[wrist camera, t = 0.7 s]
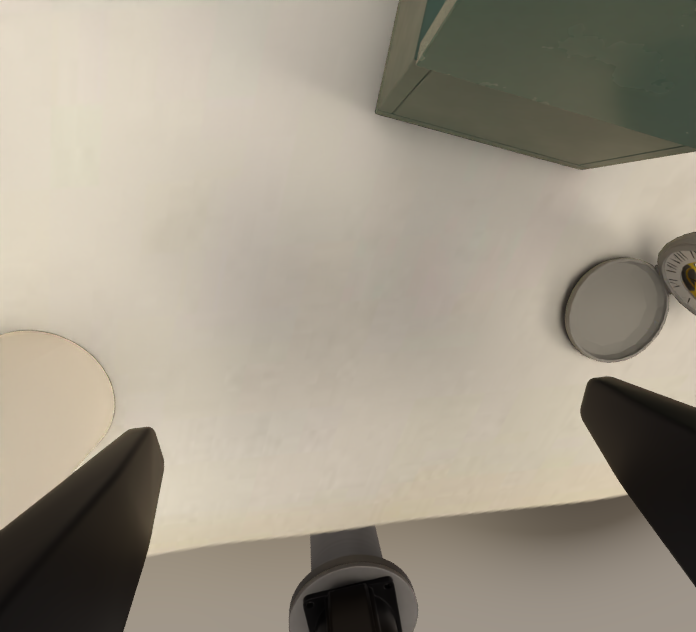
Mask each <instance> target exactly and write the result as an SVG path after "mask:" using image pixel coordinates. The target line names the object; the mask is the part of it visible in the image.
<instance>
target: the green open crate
mask: <svg viewBox="0 0 696 632" xmlns="http://www.w3.org/2000/svg"><path fill="white" fill-rule="evenodd" d="M445 1H446V0H399V4H398V8H397V13H396V17H395V22H394V27H393V31H392V36H391V41H390V45H389V50H388V55H387V59H386V64H385V68H384V73H383V78H382V82H381V87H380V92H379V96H378V101H377V106H376V110H375V113H376V114H379V115H383V116H386V117H390V118H394V119H397V120H401V121H405V122H408V123H412V124H416V125H419V126H423V127H427V128H430V129H434V130H437V131H441V132H445V133H448V134H452V135H456V136H459V137H463V138H467V139H470V140H474V141H478V142H481V143H485V144H489V145H492V146H496V147H500V148H503V149H507V150H511V151H514V152H518V153H522V154H525V155H529V156H533V157H536V158H540V159H544V160H547V161H551V162H555V163H558V164H562V165H565V166H569V167H573V168H576V169H580V170H584V169H590V168H597V167H603V166H609V165H615V164H621V163H627V162H634V161H640V160H646V159H652V158H658V157H664V156H670V155H676V154H682V153H688V152H695V151H696V149H694V148H690V147H687V146H684V145H680V144H677V143H674V142H670V141H667V140H664V139H660V138H657V137H654V136H650V135H647V134H643V133H640V132H637V131H633V130H630V129H627V128H623V127H620V126H617V125H613V124H610V123H607V122H603V121H600V120H596V119H593V118H590V117H586V116H583V115H580V114H576V113H573V112H570V111H566V110H563V109H559V108H556V107H553V106H549V105H546V104H543V103H539V102H536V101H533V100H529V99H526V98H523V97H519V96H516V95H512V94H509V93H506V92H502V91H499V90H496V89H492V88H489V87H486V86H482V85H479V84H476V83H472V82H469V81H465V80H462V79H459V78H455V77H452V76H449V75H445V74H442V73H439V72H435V71H432V70H429V69H425V68H422V67H418V66H417V65H416V61H417V56H418V52H419V47H420V43H421V41H422V40H423V38H424V36H425V35H426V33H427V31H428V30H429V28H430V26H431V25H432V23H433V21H434V20H435V18H436V16H437V15H438V13H439V11H440V10H441V8H442V6H443V5H444V3H445Z"/></svg>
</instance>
